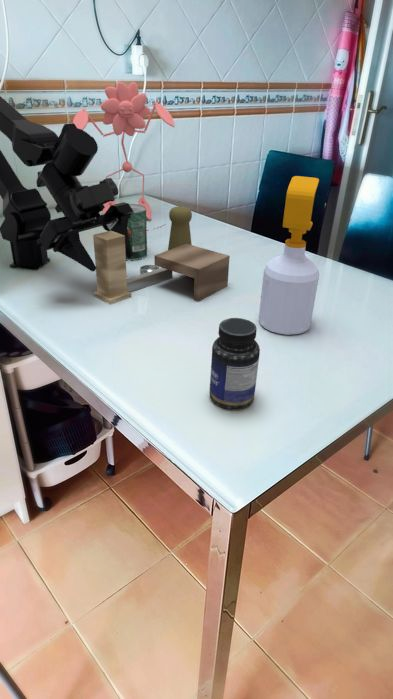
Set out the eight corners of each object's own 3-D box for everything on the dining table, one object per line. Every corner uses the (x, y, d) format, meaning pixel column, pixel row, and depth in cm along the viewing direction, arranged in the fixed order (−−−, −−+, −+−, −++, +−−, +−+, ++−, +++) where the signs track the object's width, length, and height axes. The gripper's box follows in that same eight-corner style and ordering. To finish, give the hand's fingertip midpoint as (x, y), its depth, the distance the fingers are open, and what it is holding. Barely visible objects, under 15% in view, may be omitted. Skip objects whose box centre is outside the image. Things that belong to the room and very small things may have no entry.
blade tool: (94, 295, 92) (89, 234, 86) (161, 273, 103) (161, 217, 96) (110, 304, 89) (105, 241, 83) (177, 280, 100) (178, 223, 94)
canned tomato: (107, 257, 110) (103, 209, 104) (124, 247, 116) (121, 201, 111) (137, 263, 108) (135, 214, 102) (153, 252, 114) (152, 206, 108)
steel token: (137, 279, 100) (137, 270, 99) (144, 272, 103) (144, 264, 102) (155, 281, 99) (155, 272, 98) (161, 275, 102) (161, 266, 101)
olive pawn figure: (189, 259, 111) (190, 211, 105) (164, 257, 111) (164, 209, 106) (194, 251, 116) (196, 205, 110) (170, 248, 117) (170, 203, 111)
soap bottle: (313, 317, 87) (337, 176, 74) (306, 340, 79) (332, 187, 67) (264, 308, 89) (280, 170, 76) (253, 330, 82) (269, 181, 69)
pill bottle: (207, 385, 67) (210, 314, 62) (249, 384, 68) (257, 314, 62) (212, 412, 62) (216, 338, 56) (258, 411, 62) (267, 337, 57)
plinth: (154, 286, 96) (154, 255, 93) (185, 272, 103) (186, 243, 100) (197, 301, 91) (199, 269, 88) (227, 286, 98) (229, 255, 94)
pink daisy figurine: (79, 219, 135) (66, 78, 117) (165, 214, 144) (167, 81, 125) (88, 237, 123) (76, 82, 105) (182, 230, 132) (186, 85, 113)
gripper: (40, 170, 76) (93, 253, 76) (124, 157, 88) (169, 228, 88) (18, 211, 84) (66, 286, 84) (98, 194, 97) (140, 259, 97)
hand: (113, 263), depth 88 cm, fingers open, 9 cm apart
